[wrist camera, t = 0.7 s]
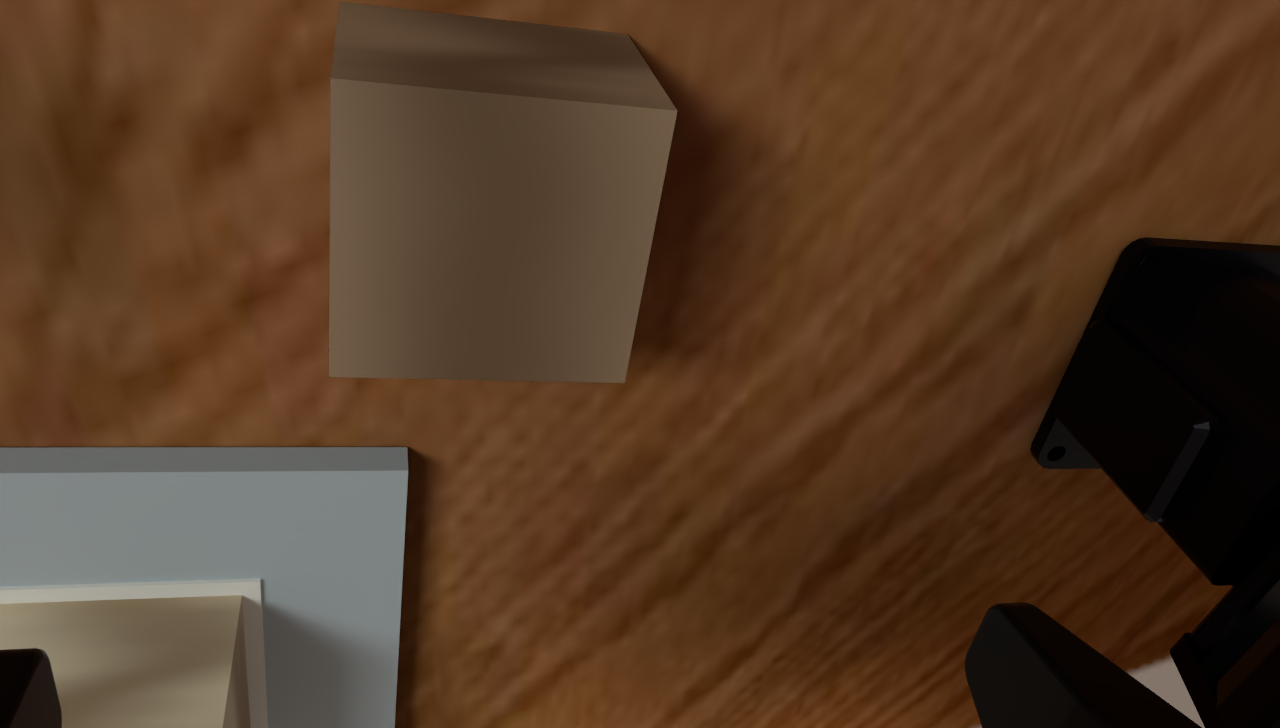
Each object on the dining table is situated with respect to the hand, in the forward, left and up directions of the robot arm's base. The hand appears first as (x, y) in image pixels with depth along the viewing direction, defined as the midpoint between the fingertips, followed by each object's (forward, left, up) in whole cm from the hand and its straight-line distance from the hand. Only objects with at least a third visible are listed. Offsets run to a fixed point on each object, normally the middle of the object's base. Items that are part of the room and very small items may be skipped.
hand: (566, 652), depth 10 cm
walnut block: (0, 0, -12) cm, 12 cm away
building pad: (+7, +13, -12) cm, 19 cm away
